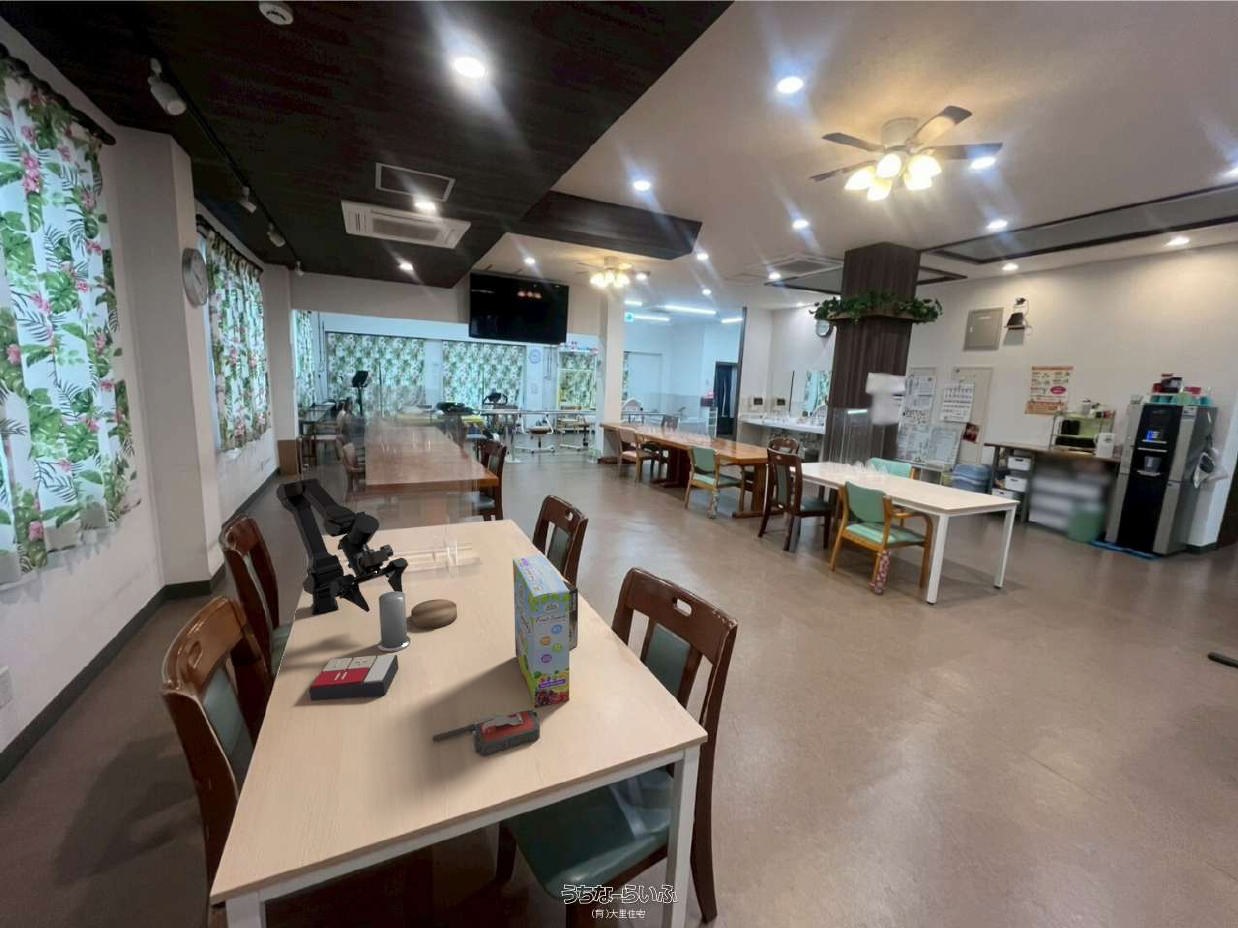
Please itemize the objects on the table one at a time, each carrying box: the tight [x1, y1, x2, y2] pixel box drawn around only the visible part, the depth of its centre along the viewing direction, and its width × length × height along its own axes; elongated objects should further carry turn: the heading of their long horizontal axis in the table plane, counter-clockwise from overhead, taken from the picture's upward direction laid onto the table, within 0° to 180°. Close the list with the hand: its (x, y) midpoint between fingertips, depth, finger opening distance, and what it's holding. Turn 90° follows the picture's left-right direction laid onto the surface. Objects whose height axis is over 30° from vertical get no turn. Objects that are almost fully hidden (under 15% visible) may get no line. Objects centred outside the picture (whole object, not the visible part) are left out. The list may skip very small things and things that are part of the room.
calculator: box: [308, 654, 399, 701], centre depth 114 cm, size 11×4×15 cm
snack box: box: [512, 554, 570, 708], centre depth 116 cm, size 22×9×26 cm, turn 23°
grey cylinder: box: [377, 590, 412, 653], centre depth 130 cm, size 8×8×13 cm
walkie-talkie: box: [431, 709, 541, 758], centre depth 98 cm, size 9×4×20 cm
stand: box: [410, 598, 458, 630], centre depth 144 cm, size 12×12×3 cm
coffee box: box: [562, 580, 579, 650], centre depth 130 cm, size 9×6×16 cm
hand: (385, 604), depth 131 cm, fingers open, 9 cm apart
